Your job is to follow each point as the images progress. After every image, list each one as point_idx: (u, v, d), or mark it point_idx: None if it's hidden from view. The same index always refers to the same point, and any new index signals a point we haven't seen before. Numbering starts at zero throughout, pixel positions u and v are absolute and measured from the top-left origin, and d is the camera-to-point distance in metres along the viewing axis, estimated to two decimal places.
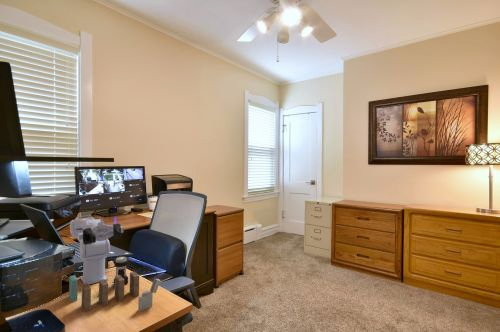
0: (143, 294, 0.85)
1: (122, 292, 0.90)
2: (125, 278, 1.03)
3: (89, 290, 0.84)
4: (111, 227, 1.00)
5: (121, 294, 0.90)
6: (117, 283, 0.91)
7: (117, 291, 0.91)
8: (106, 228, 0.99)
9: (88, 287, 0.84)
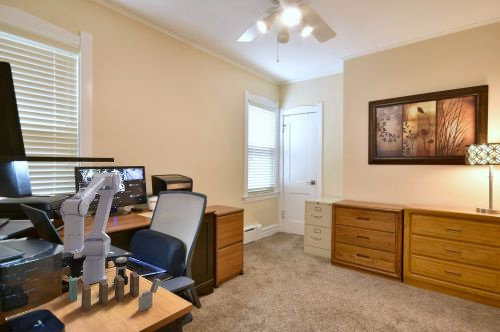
0: (143, 294, 0.85)
1: (122, 292, 0.90)
2: (125, 278, 1.03)
3: (89, 290, 0.84)
4: None
5: (121, 294, 0.90)
6: (117, 283, 0.91)
7: (117, 291, 0.91)
8: None
9: (88, 287, 0.84)
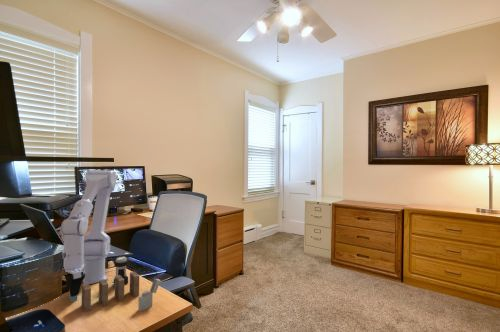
0: (143, 294, 0.85)
1: (122, 292, 0.90)
2: (125, 278, 1.03)
3: (89, 290, 0.84)
4: None
5: (121, 294, 0.90)
6: (117, 283, 0.91)
7: (117, 291, 0.91)
8: None
9: (88, 287, 0.84)
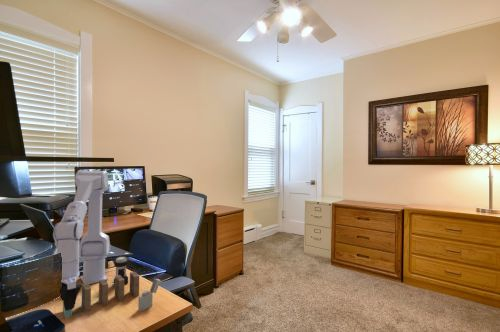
0: (143, 294, 0.85)
1: (122, 292, 0.90)
2: (125, 278, 1.03)
3: (89, 290, 0.84)
4: None
5: (121, 294, 0.90)
6: (117, 283, 0.91)
7: (117, 291, 0.91)
8: None
9: (88, 287, 0.84)
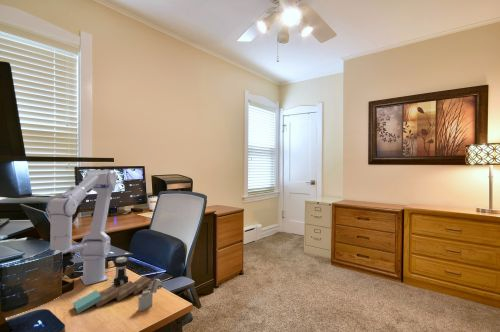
0: (143, 294, 0.85)
1: (141, 288, 0.96)
2: (125, 278, 1.03)
3: (117, 294, 0.90)
4: None
5: (139, 288, 0.95)
6: (143, 280, 0.99)
7: (137, 284, 0.97)
8: None
9: None
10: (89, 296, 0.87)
